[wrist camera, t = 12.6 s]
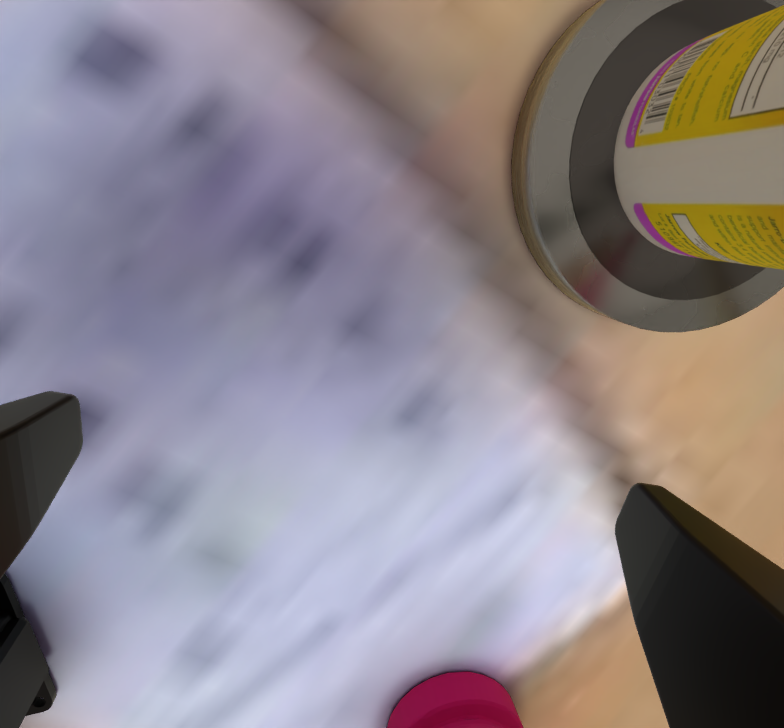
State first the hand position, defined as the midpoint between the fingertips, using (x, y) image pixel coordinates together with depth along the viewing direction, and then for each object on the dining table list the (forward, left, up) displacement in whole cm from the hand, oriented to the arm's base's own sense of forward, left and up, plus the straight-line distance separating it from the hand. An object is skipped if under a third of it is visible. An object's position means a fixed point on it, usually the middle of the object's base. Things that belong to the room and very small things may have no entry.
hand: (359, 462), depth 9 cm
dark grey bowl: (+13, +4, -12) cm, 18 cm away
